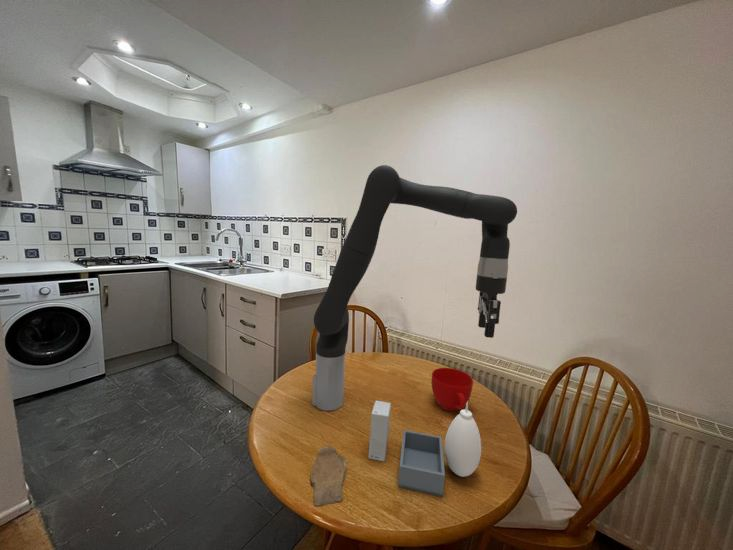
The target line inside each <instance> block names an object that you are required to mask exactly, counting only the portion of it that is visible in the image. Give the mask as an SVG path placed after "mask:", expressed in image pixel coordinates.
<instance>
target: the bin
mask: <svg viewBox="0 0 733 550" xmlns="http://www.w3.org/2000/svg"><path fill="white" fill-rule="evenodd" d="M442 439H443V438H442V436H439V435H435V434H434V435H433V434H429V433H424V432H423V433H422V432H417V431H412V430H406V429H403V433H402V441H401V450H400V457H399V458H400V459H399V471H398V482H397V483H398V484H397V487H398V488H401V489H406V490H410V491H414V492H419V493H424V494H429V495H432V496H437V497H440V498H441V497H443V498H444V489H445V488H444V487H445V479H446V478H445V477H446V473H445V472H446V471H445V463H444V462H445V461H444V449H443V440H442Z"/></svg>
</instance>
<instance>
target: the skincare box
mask: <svg viewBox="0 0 733 550" xmlns="http://www.w3.org/2000/svg"><path fill="white" fill-rule="evenodd" d="M391 406H392V403H391V402H389V401H387V402H386V401H383V400H382V401H381V400H376V399H375V402H374V405H373V407H372V410H371V415H370V427H369V428H370V431H369V443H368V459H370V460H373V461H374V460H375V461H378V462H379V461H380V462H385V461H386V456H387V450H388V445H389V434H390V420H391V419H390V417H391V410H392V409H391Z"/></svg>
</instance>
